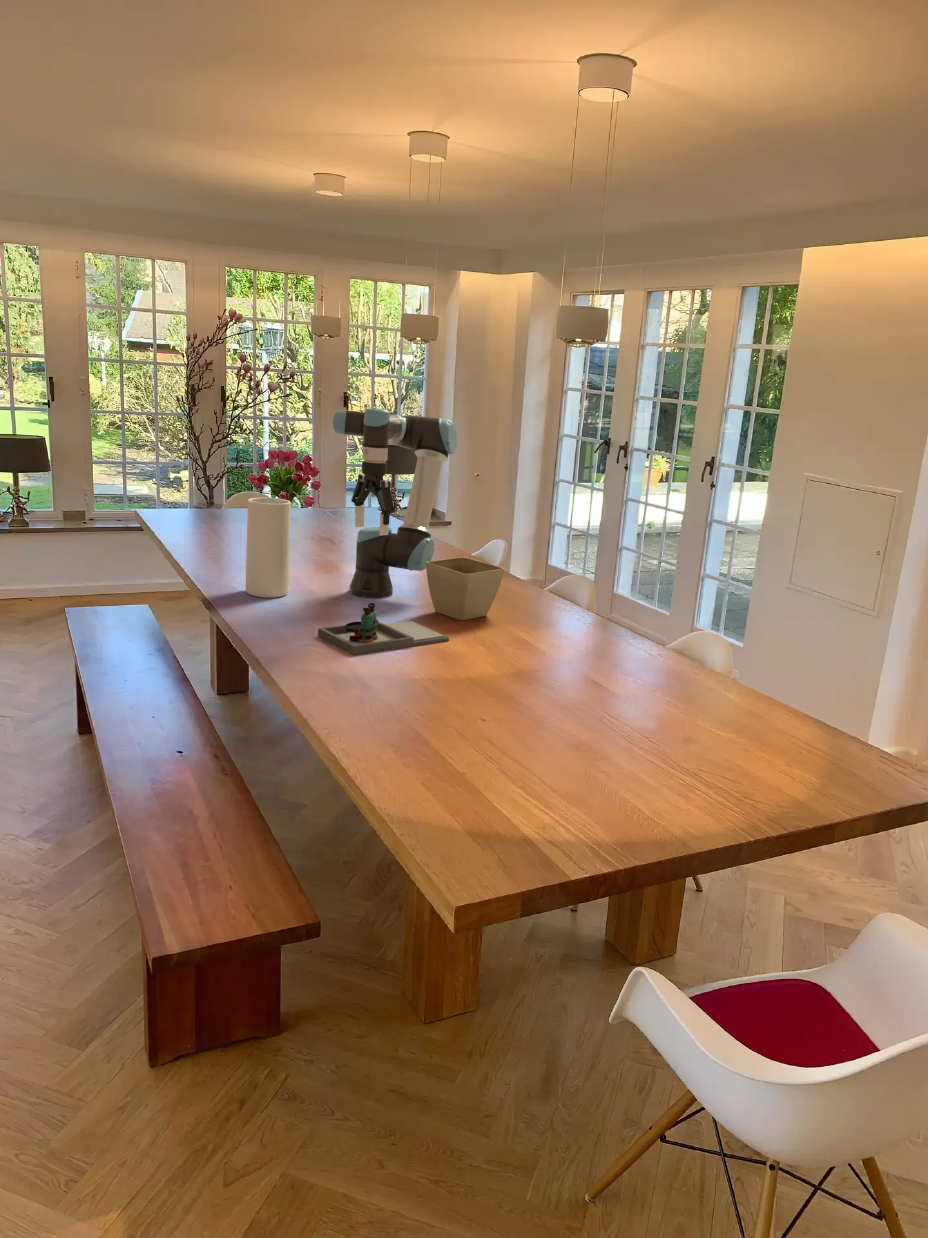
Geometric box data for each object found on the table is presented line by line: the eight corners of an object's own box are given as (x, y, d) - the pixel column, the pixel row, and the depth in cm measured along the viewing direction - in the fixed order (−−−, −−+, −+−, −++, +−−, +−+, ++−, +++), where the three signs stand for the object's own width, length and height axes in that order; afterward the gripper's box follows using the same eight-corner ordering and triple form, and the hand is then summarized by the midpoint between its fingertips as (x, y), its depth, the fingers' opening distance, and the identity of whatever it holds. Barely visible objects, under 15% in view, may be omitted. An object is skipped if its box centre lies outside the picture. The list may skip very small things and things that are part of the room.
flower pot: (501, 617, 302) (506, 567, 298) (462, 625, 289) (466, 573, 284) (460, 604, 315) (464, 556, 310) (420, 611, 301) (424, 561, 296)
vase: (296, 592, 312) (299, 500, 304) (274, 600, 299) (277, 505, 290) (259, 586, 316) (261, 495, 308) (237, 594, 303) (238, 500, 295)
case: (411, 624, 285) (411, 616, 284) (448, 640, 271) (449, 632, 270) (317, 636, 264) (318, 628, 264) (353, 655, 250) (353, 646, 249)
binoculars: (348, 601, 266) (381, 601, 264) (350, 635, 269) (383, 636, 267) (338, 608, 258) (372, 609, 256) (340, 643, 260) (374, 645, 258)
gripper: (342, 455, 280) (339, 523, 285) (387, 467, 261) (383, 539, 267) (362, 455, 284) (359, 522, 290) (408, 466, 266) (404, 537, 272)
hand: (371, 530), depth 279 cm, fingers open, 13 cm apart
